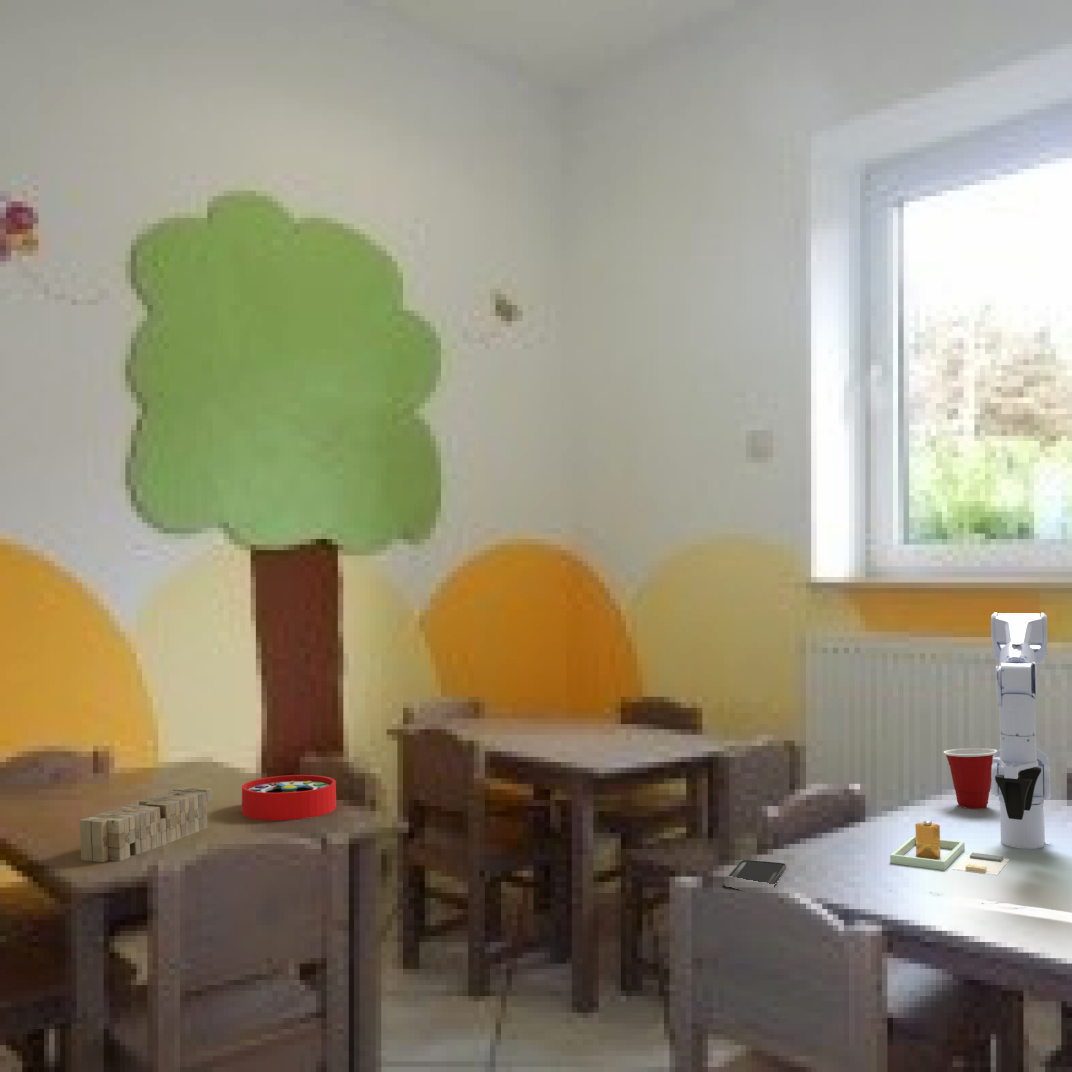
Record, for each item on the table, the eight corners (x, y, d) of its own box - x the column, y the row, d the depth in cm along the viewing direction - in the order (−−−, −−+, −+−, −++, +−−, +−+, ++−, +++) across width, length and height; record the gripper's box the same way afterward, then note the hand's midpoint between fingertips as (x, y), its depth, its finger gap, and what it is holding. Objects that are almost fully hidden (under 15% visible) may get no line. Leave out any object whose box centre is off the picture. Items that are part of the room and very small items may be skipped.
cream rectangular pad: (966, 860, 198) (966, 850, 198) (1009, 866, 194) (1009, 855, 194) (952, 876, 188) (952, 865, 188) (997, 882, 185) (997, 871, 185)
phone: (722, 882, 184) (742, 859, 198) (722, 889, 184) (742, 865, 198) (771, 887, 181) (788, 863, 195) (771, 894, 181) (788, 869, 195)
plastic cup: (961, 798, 248) (959, 743, 248) (1008, 806, 240) (1007, 749, 240) (934, 805, 241) (933, 749, 241) (982, 814, 233) (981, 755, 233)
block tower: (114, 869, 204) (213, 827, 231) (113, 822, 204) (212, 785, 231) (79, 865, 207) (182, 824, 234) (78, 819, 207) (180, 783, 234)
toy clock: (265, 797, 232) (227, 782, 248) (265, 826, 232) (227, 809, 248) (352, 784, 244) (310, 771, 260) (352, 812, 244) (311, 797, 260)
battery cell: (919, 855, 200) (918, 818, 200) (942, 858, 197) (942, 820, 198) (913, 860, 196) (912, 822, 196) (937, 864, 194) (936, 825, 194)
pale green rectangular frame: (912, 849, 206) (912, 835, 206) (964, 856, 201) (964, 842, 201) (890, 869, 193) (890, 854, 193) (945, 876, 188) (944, 861, 188)
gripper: (1000, 726, 200) (1002, 803, 200) (984, 738, 188) (985, 820, 188) (1044, 729, 196) (1045, 807, 196) (1029, 741, 184) (1031, 825, 184)
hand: (1019, 814), depth 192 cm, fingers open, 7 cm apart
